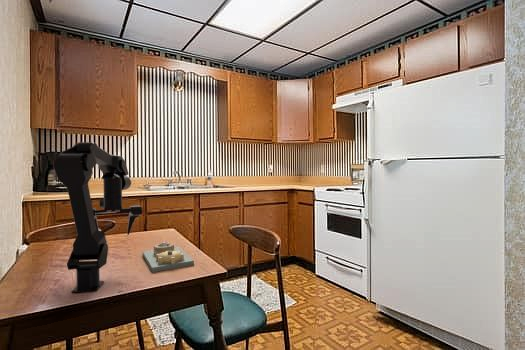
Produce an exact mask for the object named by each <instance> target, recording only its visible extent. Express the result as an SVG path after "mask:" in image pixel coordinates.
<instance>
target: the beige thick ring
mask: <svg viewBox="0 0 525 350" xmlns="http://www.w3.org/2000/svg"><path fill="white" fill-rule="evenodd" d="M161 243H162V242H161ZM161 243H157V244H154V245H153V250H154V254H155V255H157V254H160V253H163V252H165V251H174V247H175V244H174V243H173V242H167V246H165V247H161Z"/></svg>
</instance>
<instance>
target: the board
mask: <svg viewBox="0 0 525 350" xmlns="http://www.w3.org/2000/svg"><path fill="white" fill-rule="evenodd" d="M142 256H143V258H144V260H145V262H146V264H147V266H148V267H149V269H150V271H151V273H156V272H161V271H162V272H163V271H168V270H172V269H178V268H183V267H189V266H194V265H195V260H194V259H193V258H192V257H190V256H189V255H188V254H187V253H186V252H185V251H184V250H183V249H182V248H181V247H180V246H174V251H165V252H163V253H160V254H157V255H155V254H154V249H150V250H144V251H143V250H142Z"/></svg>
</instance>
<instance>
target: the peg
mask: <svg viewBox="0 0 525 350" xmlns="http://www.w3.org/2000/svg"><path fill="white" fill-rule="evenodd" d="M167 243H168V242H167V241H162V242H161V247H165V246H167Z"/></svg>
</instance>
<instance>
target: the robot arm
mask: <svg viewBox="0 0 525 350" xmlns="http://www.w3.org/2000/svg"><path fill="white" fill-rule="evenodd" d="M96 165H98V170H100V171H101V173H102V174H103V175H102V177H101V179H102V180H103V198H101V197H99V209H96V207H93V203H92V197H91V194H90V193H91V192H90V187H89V182H90V179H91V178H92V176H93V174H94V171H93V169H94V168H95V166H96ZM52 168H53V170H54V173H55V175H56V178H57V180H58V181H59V182H60V183H61V184H62V185H64V187H65V188H66V189H67V194H68V197H69V202H70V208H71V212H72V216H73V221H74V225H75V230H76V237H75V239H74V241H73V243H72V250H71V253H70V255H69V258H68V260H67V262H66V267H67V270H68V271H72V270H76V271H75V272H76V286H75V287H74V288H73V289H72V291H71V294H77V293H88V292H89V293H90V292H97V291H98V290H99V289H100V288H101V287H102V285H104V284H105V281H104V280H100V279H101V278H100V269H101V268H102V267H104V266H105V265H106V264H107V261H108V255H109V254H108V253H109V245H108V241H107V237H106V233H105V231H104V230H101V231H99V229H100V228H99V224H98V223H99V222H98V217H97V216H106V215H107V216H108V215H120V214H123V215H124V214H128V219H127V221H128V223H127V230H126V231H127V236H128V235H130V232H131V229H132V226H133V224H134V221H135V220H136V218H139V217H140V215H143V213H144V212H143V211H144V210H143V207H142V206H141V205H129V207H128V208H127V207H126V208H124V207H123V191H126V190H128V189H129V188H130V187H131V185H132V180H131V179H130V177H129V171H128V167H127V163H126V160H125V159H124V157H122V155H119V154H118V155H117V154H116V155H115V154H110V153H109V152H107V151H106V150H104V149H102V148H101V147H100V146H99V145H98V144H97V143H96V142H93V141H91V142H89V141H88V142H87V141H84V142H83V141H81V142H80V141H79V142H76V143H75V144H73V146H71V147H69V148H67V149H65V150H62V151H61V152H60V153H59V154H57V155H56V157H55V158H54V159H53V160H52ZM101 208H102V209H101Z"/></svg>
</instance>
